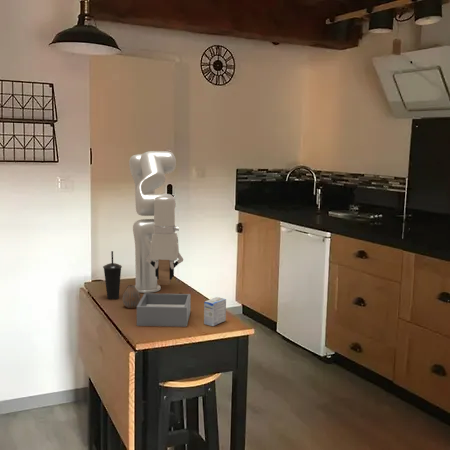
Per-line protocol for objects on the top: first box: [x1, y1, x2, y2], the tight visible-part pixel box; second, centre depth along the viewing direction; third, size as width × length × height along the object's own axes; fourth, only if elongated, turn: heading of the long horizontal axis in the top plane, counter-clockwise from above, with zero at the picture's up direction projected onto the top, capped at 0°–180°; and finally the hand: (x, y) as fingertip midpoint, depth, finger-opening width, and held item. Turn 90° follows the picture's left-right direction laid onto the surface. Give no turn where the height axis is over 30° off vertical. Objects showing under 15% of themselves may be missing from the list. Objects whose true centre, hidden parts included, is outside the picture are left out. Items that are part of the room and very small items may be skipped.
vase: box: [122, 284, 141, 309], centre depth 225 cm, size 7×7×9 cm
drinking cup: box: [102, 251, 123, 300], centre depth 237 cm, size 8×8×20 cm
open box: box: [136, 292, 192, 328], centre depth 212 cm, size 18×18×7 cm
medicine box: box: [203, 296, 227, 327], centre depth 207 cm, size 8×4×9 cm, turn 145°
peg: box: [158, 259, 171, 285], centre depth 209 cm, size 4×4×10 cm
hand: (164, 278), depth 210 cm, fingers closed on peg, 4 cm apart
